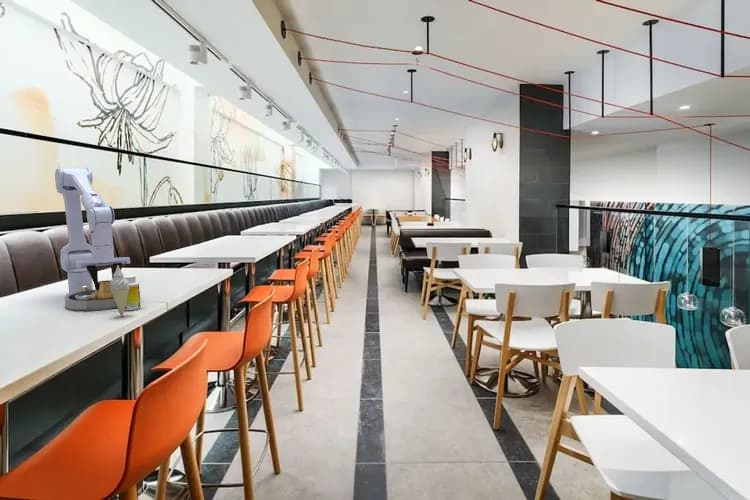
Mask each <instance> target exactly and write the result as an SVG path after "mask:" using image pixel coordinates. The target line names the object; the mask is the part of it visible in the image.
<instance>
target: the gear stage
mask: <svg viewBox="0 0 750 500" xmlns="http://www.w3.org/2000/svg"><path fill="white" fill-rule="evenodd" d="M95 291H98V290H96V289H93V290H92V285H91V284H83V285H78V286H77V293H73V294H70V295H68V296H67V295H66V296H64V306H65V309H66V310H69V311H73V312H96V311H98V312H99V311H108V310H115V309H118V307H117V305H116V302H115V300H114V298H112V299H104V300H95V294H94V292H95ZM139 292H140V293H141V291H140V290H139Z"/></svg>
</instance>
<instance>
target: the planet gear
mask: <svg viewBox="0 0 750 500" xmlns="http://www.w3.org/2000/svg"><path fill="white" fill-rule="evenodd" d="M111 280H112V279H111ZM111 280H110V279H109V280H108V279H106V280H100V281H99V280H98V284H99V290H98V291H95V292H94V294H95V300H104V299H112V298H114V297H113V295H112V292H111V290H110V289H111V288H110V284H109V283H110V282H111Z"/></svg>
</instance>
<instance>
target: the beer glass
mask: <svg viewBox="0 0 750 500" xmlns="http://www.w3.org/2000/svg"><path fill="white" fill-rule="evenodd" d="M124 277H125V278H126V279H127V281H128V282H129V284H128V285H129V286H128V287H129V291H128V296H127V300H126V304H125V309H124V312H125V311H128V312H129V311H135V310H138V309H140V308H141V291H140V283H139V282H138V281H137V277H136V275H133V274H129V275H128V274H126V275H124ZM139 291H140V292H139Z"/></svg>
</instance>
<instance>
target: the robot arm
mask: <svg viewBox="0 0 750 500" xmlns="http://www.w3.org/2000/svg"><path fill="white" fill-rule="evenodd" d="M93 178H94V176H93V172H92V171H91V169H90V168H89V167H61V166H59V167H57V168H55V171H54V180H55V181H54V182H55V188H56V193H58V194H61V195H62V198H63V203H64V211H65V217H66V218H65V219H66V229H67V236H68V243H67V244H66V245H64V246H63V247H62V248H61V249H60V259H59V262H60V267H61V269H62V270H63V271H64V272H66V273H67V283H68V284H67V285H68V293H65V294H66V296H68V295H70V294H73V293H77V286H78V285H83V284H91V285H92V290H95V289H96V290H99V284H98V282H99V280H98V278H99V277H98V276H99V275H98V272H99V271H98V268H97V267H101V266H110V270H111V278H112V279H113V278H114V276H113V275H114V273H115V271H116V268H117V265H118V266H119V268H120V270H121V271H122V270H123V265H125V264H127V265H128V264H131V258H130V257H129V256H127V257H126V256H124V257H120V256H119V257H115V255H114V239H113V225H114V222H115V211H114V209H113V206H112V205H109V204H106V203H105V201H104V199H103V198H102V196H101V194H100V193H99V192H97V191H94V188H93V186H92V184H93ZM82 207H83V208H84V210H85V211H86V219H87V224H88V229H89V231H90V235H91V244H89V243H88V242H86V238H85V237H86V236H85V229H84V222H83V211H82ZM112 279H111V280H112ZM94 288H95V289H94Z"/></svg>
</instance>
